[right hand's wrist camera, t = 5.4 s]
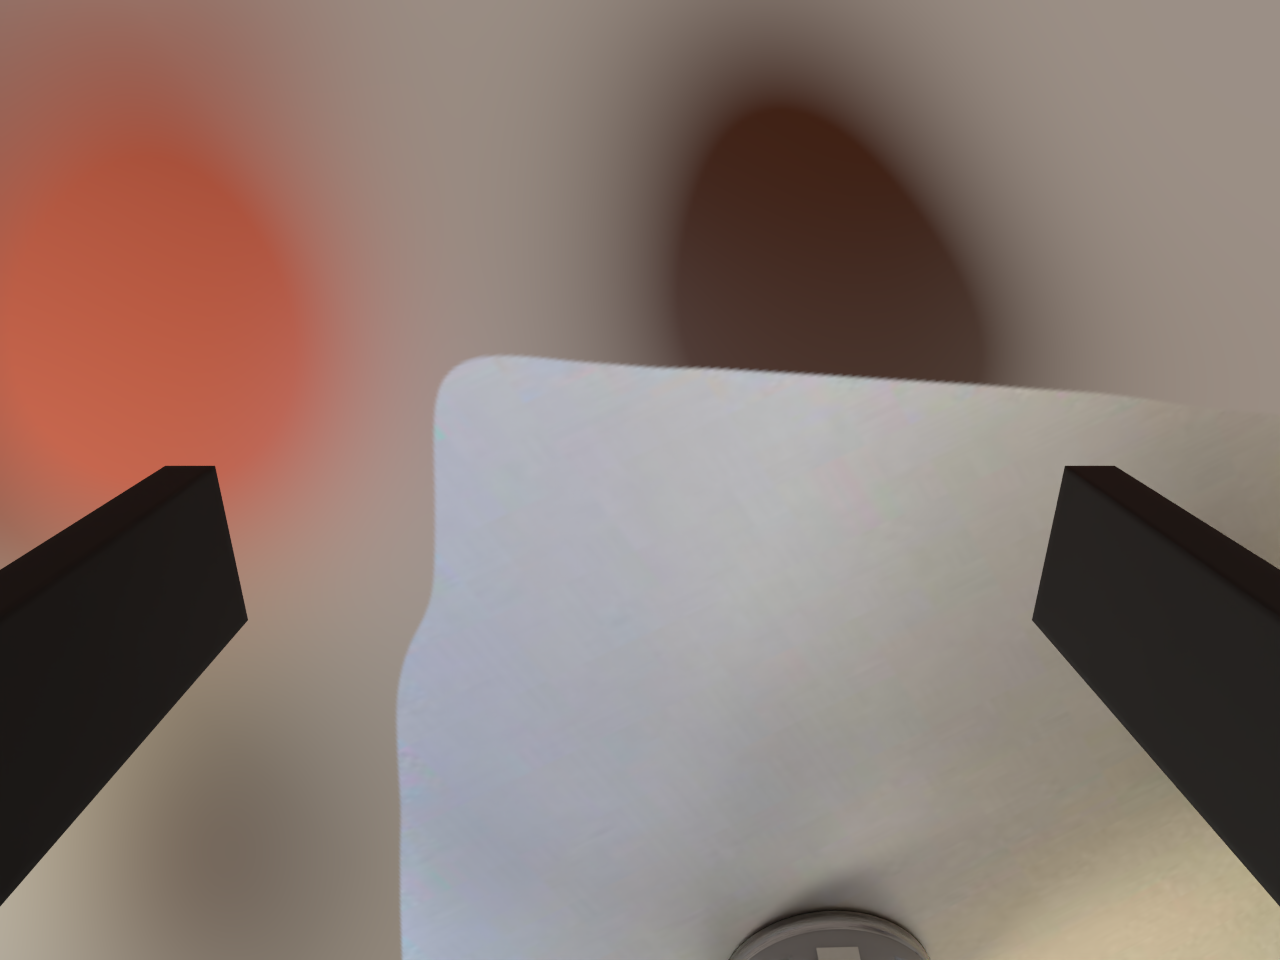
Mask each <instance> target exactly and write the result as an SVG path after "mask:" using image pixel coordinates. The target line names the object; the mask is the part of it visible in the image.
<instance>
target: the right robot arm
mask: <svg viewBox="0 0 1280 960" xmlns="http://www.w3.org/2000/svg"><path fill="white" fill-rule="evenodd" d="M247 620H248V618H247V614H246V609H245V604H244V599H243V595H242V590H241V585H240V581H239V576H238V572H237V567H236V562H235V557H234V553H233V548H232V544H231V539H230V534H229V529H228V525H227V520H226V515H225V511H224V506H223V501H222V497H221V492H220V488H219V483H218V478H217V473H216V469H215V466H164V467H163V468H161V469H160V470H158V471H156V472H155V473H153V474H152V475H150V476H149V477H147V478H145V479H144V480H142V481H141V482H139V483H137V484H136V485H134V486H133V487H131V488H130V489H128V490H126V491H125V492H123V493H122V494H120V495H118V496H117V497H115V498H114V499H112V500H110V501H109V502H107V503H106V504H104V505H103V506H101V507H99V508H98V509H96V510H95V511H93V512H91V513H90V514H88V515H87V516H85V517H83V518H82V519H80V520H79V521H77V522H76V523H74V524H72V525H71V526H69V527H68V528H66V529H64V530H63V531H61V532H60V533H58V534H56V535H55V536H53V537H52V538H50V539H49V540H47V541H45V542H44V543H42V544H41V545H39V546H37V547H36V548H34V549H33V550H31V551H29V552H28V553H26V554H25V555H23V556H22V557H20V558H18V559H17V560H15V561H14V562H12V563H11V564H9V565H7V566H6V567H4V568H3V569H1V570H0V906H1V905H2V904H3V903H4V901H5V900H6V899H7V898H8V897H9V896H10V894H11V893H12V892H13V891H14V890H15V889H16V887H17V886H18V885H19V884H20V883H21V882H22V881H23V879H24V878H25V877H26V876H27V875H28V874H29V872H30V871H31V870H32V869H33V868H34V867H35V866H36V864H37V863H38V862H39V861H40V860H41V859H42V857H43V856H44V855H45V854H46V853H47V852H48V850H49V849H50V848H51V847H52V846H53V845H54V844H55V842H56V841H57V840H58V839H59V838H60V837H61V835H62V834H63V833H64V832H65V831H66V830H67V829H68V827H69V826H70V825H71V824H72V823H73V822H74V820H75V819H76V818H77V817H78V816H79V815H80V813H81V812H82V811H83V810H84V809H85V808H86V807H87V805H88V804H89V803H90V802H91V801H92V800H93V798H94V797H95V796H96V795H97V794H98V793H99V791H100V790H101V789H102V788H103V787H104V786H105V785H106V783H107V782H108V781H109V780H110V779H111V778H112V776H113V775H114V774H115V773H116V772H117V771H118V770H119V768H120V767H121V766H122V765H123V764H124V763H125V762H126V760H127V759H128V758H129V757H130V756H131V755H132V753H133V752H134V751H135V750H136V749H137V748H138V746H139V745H140V744H141V743H142V742H143V741H144V740H145V738H146V737H147V736H148V735H149V734H150V733H151V731H152V730H153V729H154V728H155V727H156V726H157V724H158V723H159V722H160V721H161V720H162V719H163V718H164V716H165V715H166V714H167V713H168V712H169V711H170V710H171V708H172V707H173V706H174V705H175V704H176V703H177V701H178V700H179V699H180V698H181V697H182V696H183V694H184V693H185V692H186V691H187V690H188V689H189V688H190V686H191V685H192V684H193V683H194V682H195V681H196V679H197V678H198V677H199V676H200V675H201V674H202V672H203V671H204V670H205V669H206V668H207V667H208V666H209V664H210V663H211V662H212V661H213V660H214V659H215V657H216V656H217V655H218V654H219V653H220V652H221V651H222V649H223V648H224V647H225V646H226V645H227V644H228V642H229V641H230V640H231V639H232V638H233V637H234V635H235V634H236V633H237V632H238V631H239V630H240V629H241V627H242V626H243V625H244V624H245V623H246V622H247ZM1032 621H1033V622H1034V623H1035V624H1036V625H1037V626H1038V627H1039V629H1040V630H1041V631H1042V632H1043V633H1044V634H1045V636H1046V637H1047V638H1048V639H1049V640H1050V641H1051V642H1052V644H1053V645H1054V646H1055V647H1056V648H1057V649H1058V651H1059V652H1060V653H1061V654H1062V655H1063V656H1064V658H1065V659H1066V660H1067V661H1068V662H1069V663H1070V664H1071V666H1072V667H1073V668H1074V669H1075V670H1076V671H1077V673H1078V674H1079V675H1080V676H1081V677H1082V678H1083V679H1084V681H1085V682H1086V683H1087V684H1088V685H1089V686H1090V688H1091V689H1092V690H1093V691H1094V692H1095V693H1096V694H1097V696H1098V697H1099V698H1100V699H1101V700H1102V701H1103V703H1104V704H1105V705H1106V706H1107V707H1108V708H1109V710H1110V711H1111V712H1112V713H1113V714H1114V715H1115V716H1116V718H1117V719H1118V720H1119V721H1120V722H1121V723H1122V725H1123V726H1124V727H1125V728H1126V729H1127V730H1128V731H1129V733H1130V734H1131V735H1132V736H1133V737H1134V738H1135V740H1136V741H1137V742H1138V743H1139V744H1140V745H1141V747H1142V748H1143V749H1144V750H1145V751H1146V752H1147V753H1148V755H1149V756H1150V757H1151V758H1152V759H1153V760H1154V762H1155V763H1156V764H1157V765H1158V766H1159V767H1160V768H1161V770H1162V771H1163V772H1164V773H1165V774H1166V775H1167V777H1168V778H1169V779H1170V780H1171V781H1172V782H1173V783H1174V785H1175V786H1176V787H1177V788H1178V789H1179V790H1180V792H1181V793H1182V794H1183V795H1184V796H1185V797H1186V799H1187V800H1188V801H1189V802H1190V803H1191V804H1192V805H1193V807H1194V808H1195V809H1196V810H1197V811H1198V812H1199V814H1200V815H1201V816H1202V817H1203V818H1204V819H1205V820H1206V822H1207V823H1208V824H1209V825H1210V826H1211V827H1212V829H1213V830H1214V831H1215V832H1216V833H1217V834H1218V835H1219V837H1220V838H1221V839H1222V840H1223V841H1224V842H1225V844H1226V845H1227V846H1228V847H1229V848H1230V849H1231V851H1232V852H1233V853H1234V854H1235V855H1236V856H1237V857H1238V859H1239V860H1240V861H1241V862H1242V863H1243V864H1244V866H1245V867H1246V868H1247V869H1248V870H1249V871H1250V872H1251V874H1252V875H1253V876H1254V877H1255V878H1256V879H1257V881H1258V882H1259V883H1260V884H1261V885H1262V886H1263V887H1264V889H1265V890H1266V891H1267V892H1268V893H1269V894H1270V896H1271V897H1272V898H1273V899H1274V900H1275V901H1276V903H1277V904H1278V905H1279V906H1280V570H1279V569H1277V568H1276V567H1274V566H1273V565H1271V564H1270V563H1268V562H1266V561H1265V560H1263V559H1262V558H1260V557H1258V556H1257V555H1255V554H1254V553H1252V552H1251V551H1249V550H1247V549H1246V548H1244V547H1243V546H1241V545H1239V544H1238V543H1236V542H1235V541H1233V540H1231V539H1230V538H1228V537H1227V536H1225V535H1224V534H1222V533H1220V532H1219V531H1217V530H1216V529H1214V528H1212V527H1211V526H1209V525H1208V524H1206V523H1204V522H1203V521H1201V520H1200V519H1198V518H1197V517H1195V516H1193V515H1192V514H1190V513H1189V512H1187V511H1185V510H1184V509H1182V508H1181V507H1179V506H1177V505H1176V504H1174V503H1173V502H1171V501H1170V500H1168V499H1166V498H1165V497H1163V496H1162V495H1160V494H1158V493H1157V492H1155V491H1154V490H1152V489H1150V488H1149V487H1147V486H1146V485H1144V484H1143V483H1141V482H1139V481H1138V480H1136V479H1135V478H1133V477H1131V476H1130V475H1128V474H1127V473H1125V472H1124V471H1122V470H1120V469H1119V468H1117V467H1116V466H1065V469H1064V473H1063V478H1062V483H1061V487H1060V492H1059V497H1058V501H1057V506H1056V511H1055V515H1054V520H1053V525H1052V529H1051V534H1050V539H1049V543H1048V548H1047V553H1046V557H1045V562H1044V567H1043V571H1042V576H1041V581H1040V585H1039V590H1038V595H1037V599H1036V604H1035V609H1034V613H1033V618H1032ZM729 960H929V958H928V955H927V953H926V952H925V950H924V949H923V947H922V946H921V944H920V943H919V942H918V941H917V940H916V939H915V938H914V937H913V936H912V935H911V934H909V933H908V932H907V931H905V930H904V929H903V928H901V927H899V926H897V925H896V924H894V923H891V922H889V921H887V920H885V919H882V918H879V917H876V916H872V915H868V914H864V913H858V912H850V911H821V912H812V913H807V914H802V915H798V916H794V917H790V918H787V919H784V920H781V921H779V922H776V923H774V924H772V925H770V926H768V927H766V928H764V929H762V930H761V931H759V932H757V933H756V934H754V935H753V936H751V937H750V938H749V939H747V940H746V941H745V942H744V943H743V944H742V945H741V946H740V947H739V948H738V949H737V950H736V951H735V952H734V954H733V955H732V956H731V958H730V959H729Z"/></svg>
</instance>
